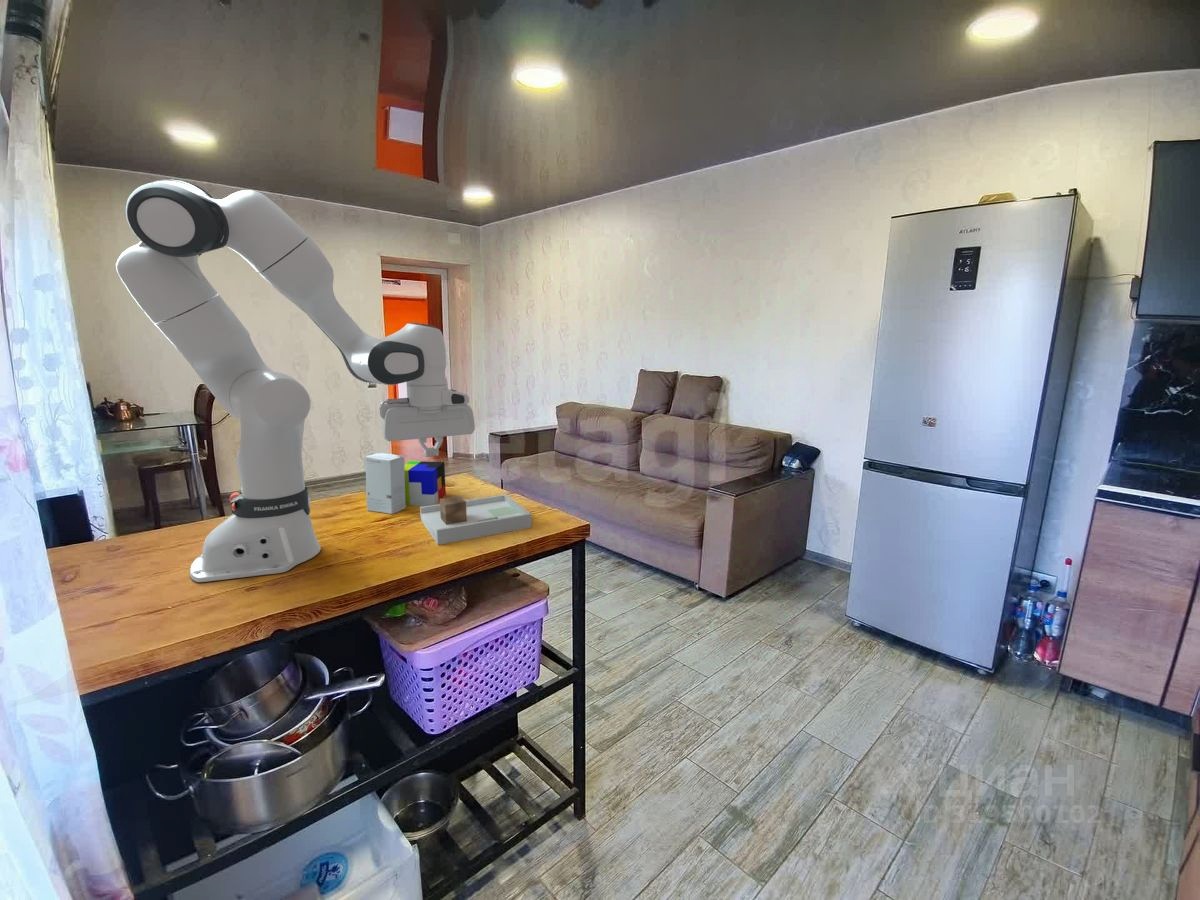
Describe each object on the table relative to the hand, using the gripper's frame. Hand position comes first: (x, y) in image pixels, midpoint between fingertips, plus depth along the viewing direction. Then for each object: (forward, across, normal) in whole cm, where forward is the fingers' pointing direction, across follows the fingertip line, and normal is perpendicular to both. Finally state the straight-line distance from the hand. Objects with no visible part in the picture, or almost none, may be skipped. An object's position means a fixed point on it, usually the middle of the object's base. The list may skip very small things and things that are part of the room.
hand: (431, 455), depth 120 cm
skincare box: (+19, -8, +21) cm, 29 cm away
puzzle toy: (+19, +2, +25) cm, 31 cm away
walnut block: (+17, +4, 0) cm, 17 cm away
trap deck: (+19, +9, 0) cm, 21 cm away
